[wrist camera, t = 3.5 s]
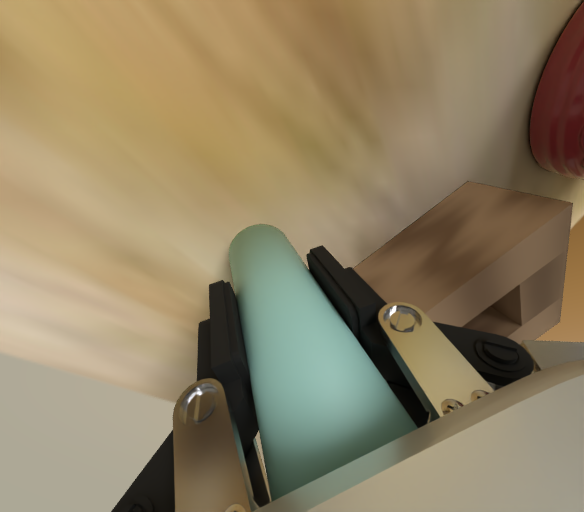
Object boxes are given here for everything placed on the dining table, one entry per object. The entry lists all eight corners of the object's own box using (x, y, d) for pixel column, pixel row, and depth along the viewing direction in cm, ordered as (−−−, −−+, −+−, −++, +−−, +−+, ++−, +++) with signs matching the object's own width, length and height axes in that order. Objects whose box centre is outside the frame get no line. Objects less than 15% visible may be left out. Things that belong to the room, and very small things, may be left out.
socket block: (468, 181, 18) (572, 203, 13) (485, 281, 24) (559, 321, 19) (335, 281, 18) (387, 341, 13) (387, 354, 25) (435, 412, 20)
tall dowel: (282, 216, 13) (465, 446, 4) (294, 267, 15) (440, 508, 6) (219, 236, 13) (258, 556, 3) (240, 287, 14) (303, 586, 5)
